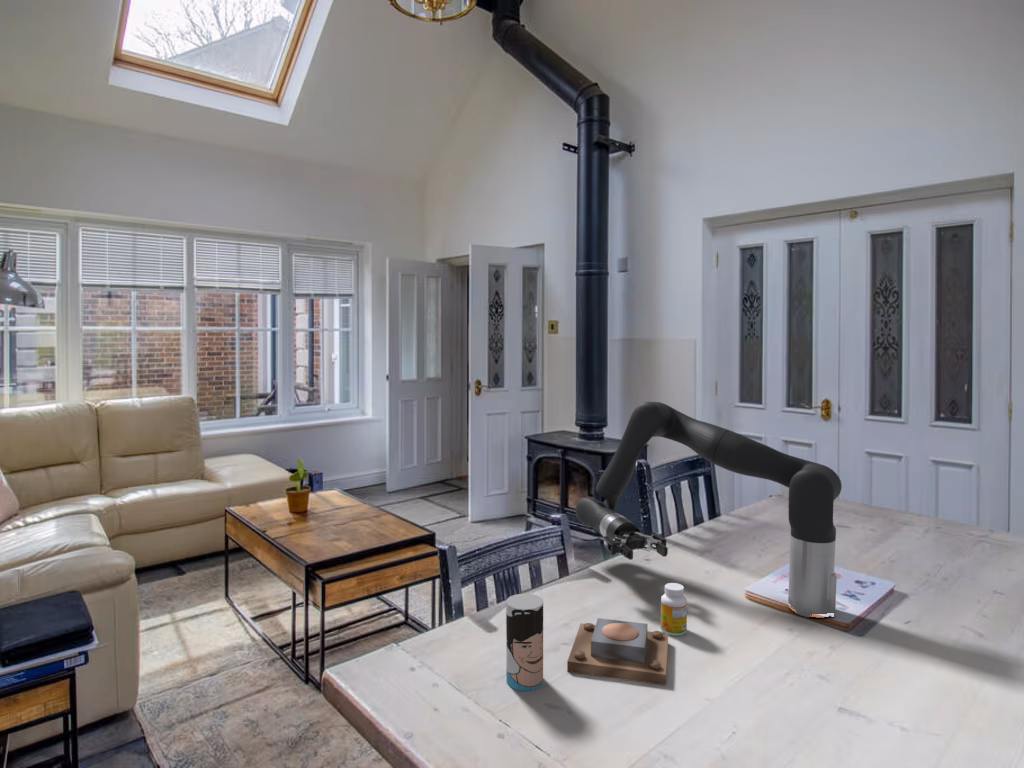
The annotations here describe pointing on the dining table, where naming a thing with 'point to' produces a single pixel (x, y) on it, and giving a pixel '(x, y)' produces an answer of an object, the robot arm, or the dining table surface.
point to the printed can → (524, 642)
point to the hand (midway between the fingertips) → (648, 554)
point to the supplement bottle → (674, 610)
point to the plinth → (620, 666)
